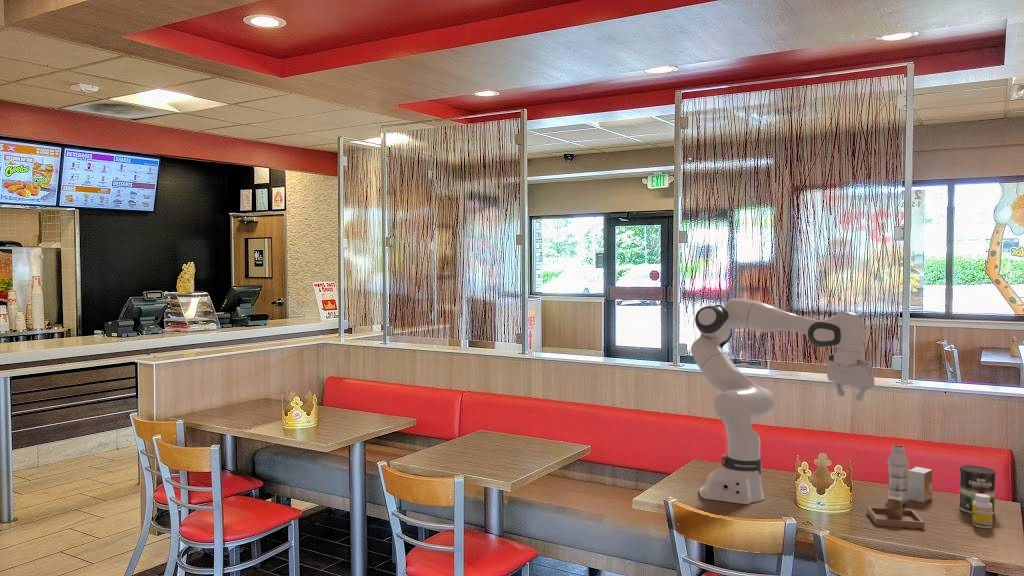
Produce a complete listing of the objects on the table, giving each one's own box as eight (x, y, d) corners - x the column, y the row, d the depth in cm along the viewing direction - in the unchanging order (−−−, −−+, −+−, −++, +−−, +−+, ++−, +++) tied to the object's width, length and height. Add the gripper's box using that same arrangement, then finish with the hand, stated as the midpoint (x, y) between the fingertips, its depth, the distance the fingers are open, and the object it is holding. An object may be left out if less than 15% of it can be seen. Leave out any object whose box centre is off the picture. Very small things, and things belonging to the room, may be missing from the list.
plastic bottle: (911, 506, 250) (912, 449, 250) (890, 505, 252) (890, 448, 251) (905, 500, 257) (906, 444, 256) (884, 499, 258) (885, 443, 258)
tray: (876, 525, 232) (876, 518, 232) (867, 513, 244) (867, 506, 244) (924, 529, 229) (924, 522, 229) (912, 516, 240) (913, 510, 240)
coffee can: (998, 517, 240) (999, 474, 240) (962, 513, 244) (963, 471, 243) (990, 507, 250) (991, 466, 249) (955, 504, 253) (956, 464, 253)
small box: (924, 503, 254) (924, 473, 254) (906, 499, 258) (907, 470, 258) (932, 498, 260) (933, 469, 259) (915, 494, 264) (916, 466, 264)
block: (887, 519, 236) (887, 498, 235) (888, 516, 239) (888, 495, 239) (901, 522, 233) (901, 500, 233) (902, 518, 237) (902, 497, 237)
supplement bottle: (973, 521, 236) (973, 491, 236) (993, 525, 233) (993, 495, 232) (970, 526, 232) (971, 495, 232) (991, 530, 228) (991, 499, 228)
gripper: (879, 361, 243) (879, 403, 243) (839, 354, 263) (838, 392, 263) (863, 362, 241) (862, 403, 242) (824, 355, 261) (823, 393, 262)
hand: (849, 398), depth 252 cm, fingers open, 8 cm apart
